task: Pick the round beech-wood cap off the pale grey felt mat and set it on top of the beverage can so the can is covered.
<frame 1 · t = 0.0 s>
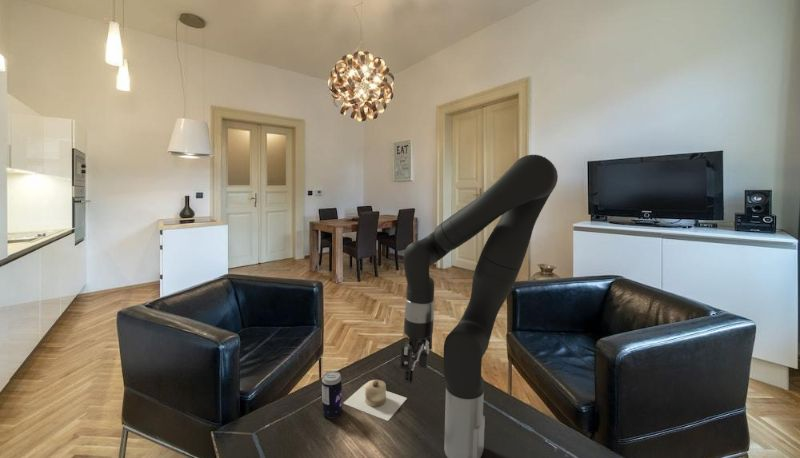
hand: (416, 374, 89), 17 cm above the table, tool pointing down, fingers open, 8 cm apart
lid: (375, 400, 104), resting on mat
beverage can: (332, 414, 99), on the table
mat: (375, 401, 104), on the table
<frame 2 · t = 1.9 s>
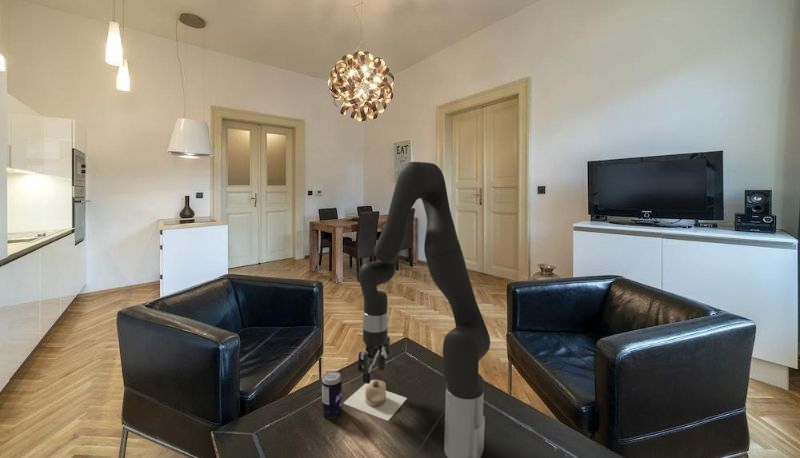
hand: (374, 375, 103), 9 cm above the table, tool pointing down, fingers open, 8 cm apart
nothing on the table moved.
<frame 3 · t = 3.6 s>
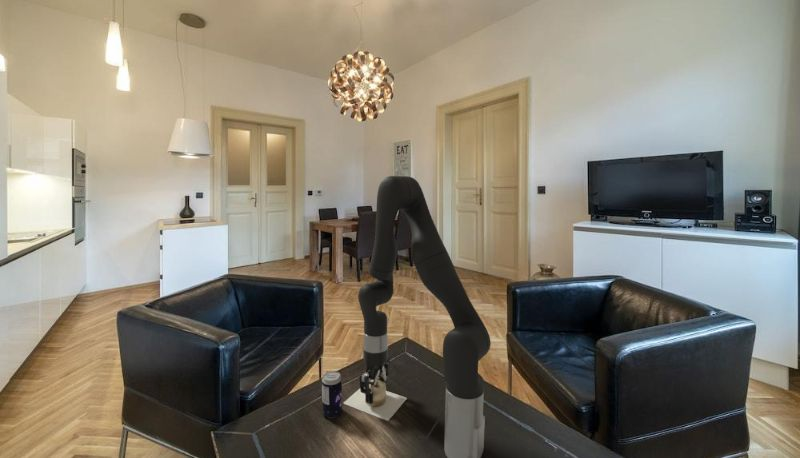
hand: (375, 396, 104), 2 cm above the table, tool pointing down, fingers closed on lid, 6 cm apart
lid: (375, 400, 104), resting on mat, touching gripper
everything else where it was.
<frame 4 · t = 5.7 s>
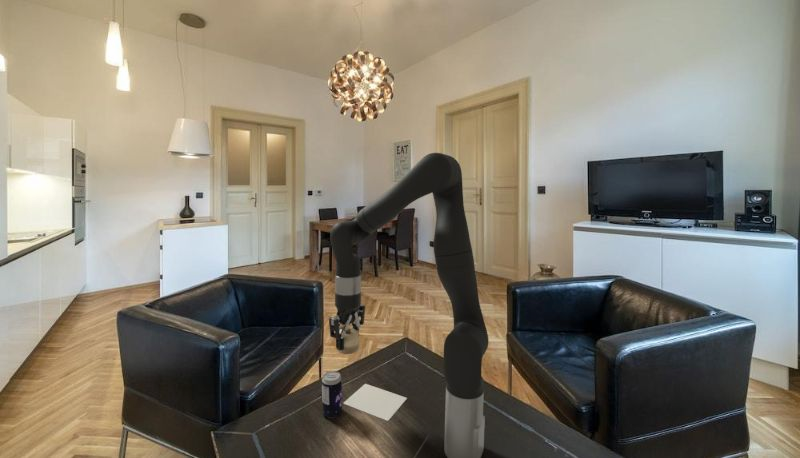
hand: (347, 344, 99), 20 cm above the table, tool pointing down, fingers closed on lid, 6 cm apart
lid: (347, 348, 99), point 19 cm above the table, touching gripper
everything else where it was.
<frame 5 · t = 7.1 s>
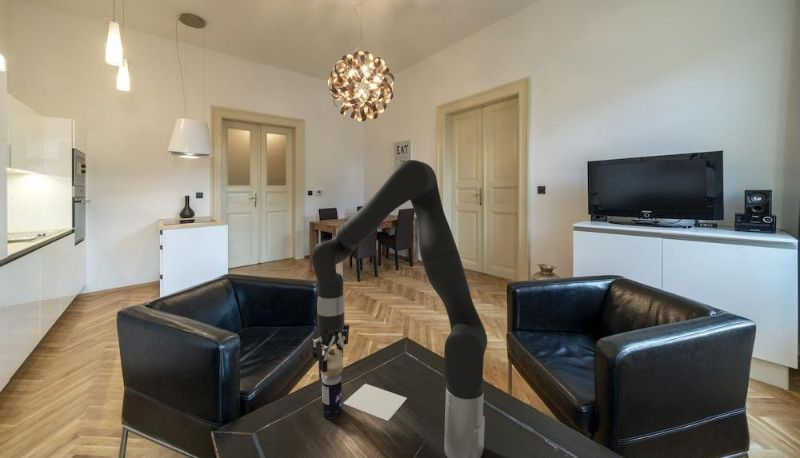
hand: (331, 365, 97), 15 cm above the table, tool pointing down, fingers closed on lid, 6 cm apart
lid: (331, 369, 97), point 14 cm above the table, touching gripper
everything else where it was.
when the fingers open (14 cm above the table, at t = 8.3 s): lid stays where it is, resting on beverage can.
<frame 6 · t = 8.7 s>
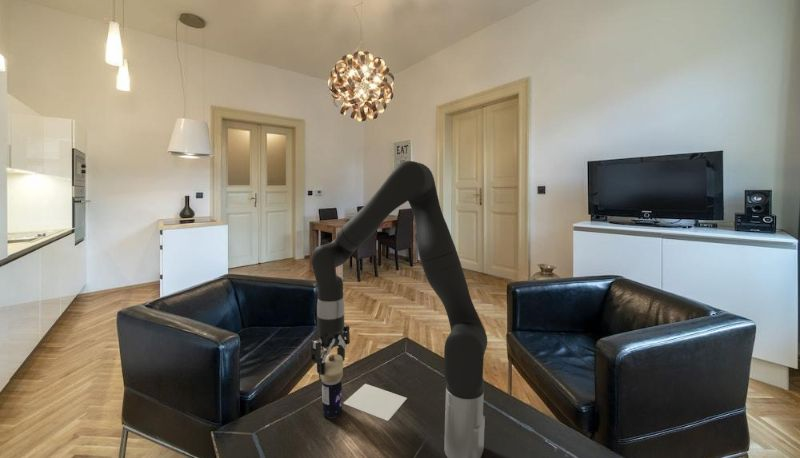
hand: (331, 366, 97), 15 cm above the table, tool pointing down, fingers open, 8 cm apart
lid: (331, 375, 97), point 12 cm above the table, touching beverage can
beverage can: (332, 414, 99), on the table, touching lid
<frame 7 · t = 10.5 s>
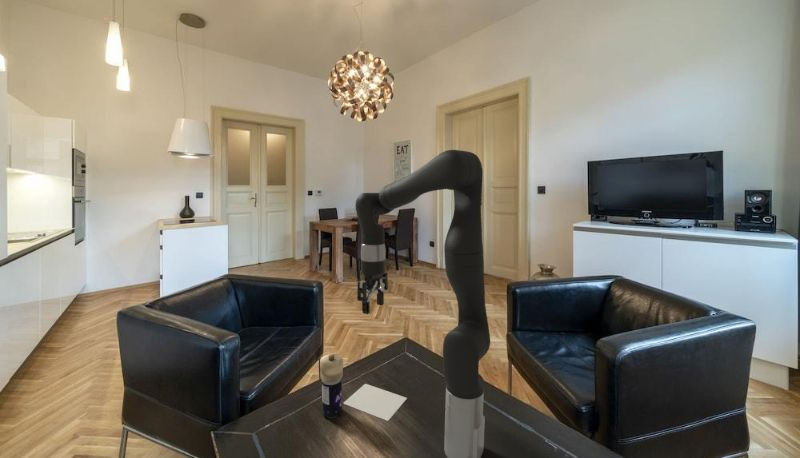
hand: (373, 308, 105), 29 cm above the table, tool pointing down, fingers open, 8 cm apart
nothing on the table moved.
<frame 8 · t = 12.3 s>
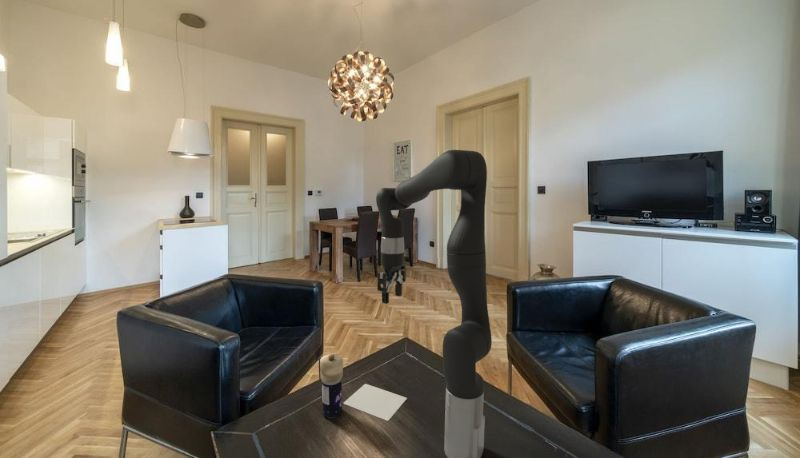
hand: (392, 299, 109), 30 cm above the table, tool pointing down, fingers open, 8 cm apart
nothing on the table moved.
at the end: lid 0.0 cm off-centre on the beverage can, point 12.2 cm above the beverage can's base; beverage can tilted 0°; the gripper is holding nothing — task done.
